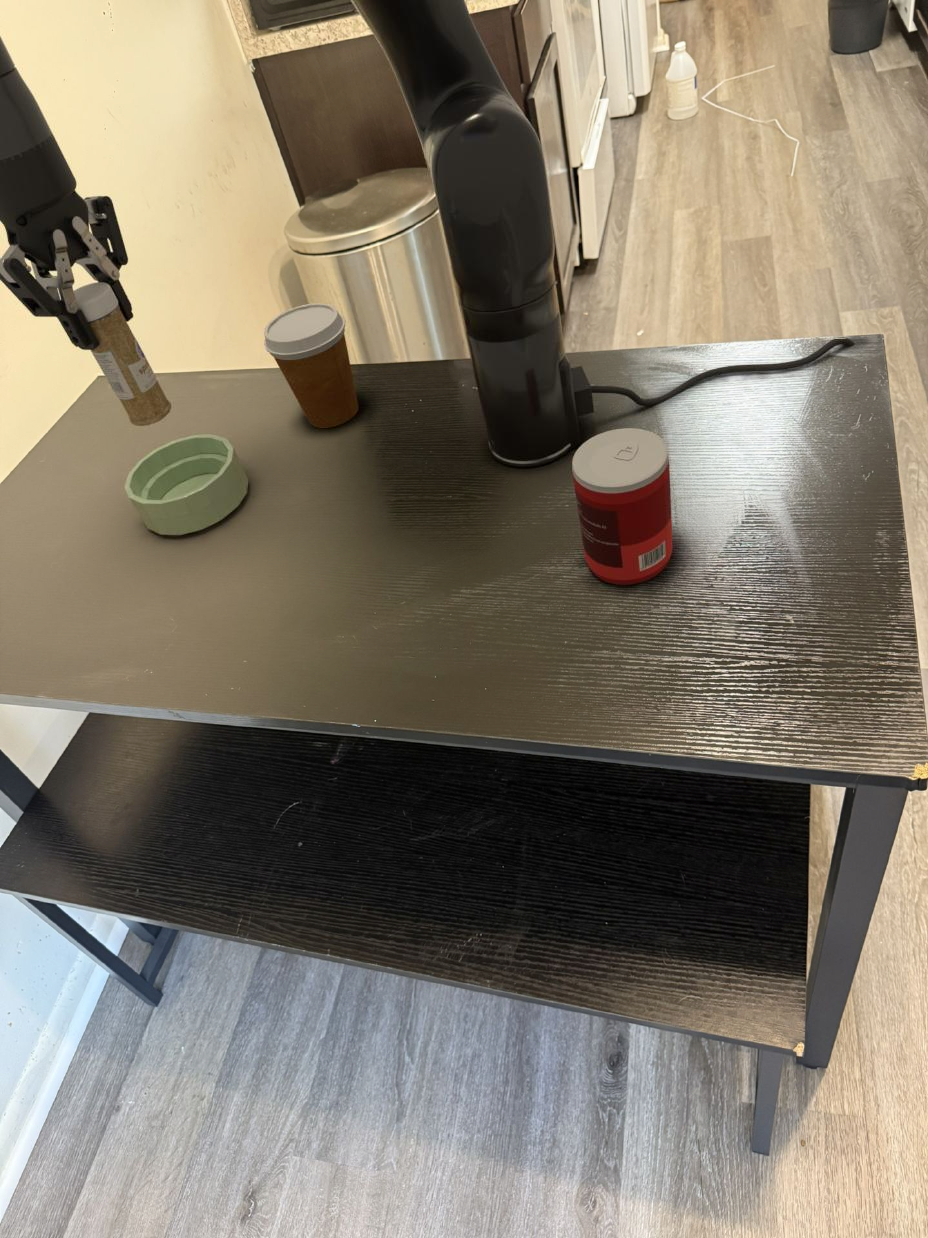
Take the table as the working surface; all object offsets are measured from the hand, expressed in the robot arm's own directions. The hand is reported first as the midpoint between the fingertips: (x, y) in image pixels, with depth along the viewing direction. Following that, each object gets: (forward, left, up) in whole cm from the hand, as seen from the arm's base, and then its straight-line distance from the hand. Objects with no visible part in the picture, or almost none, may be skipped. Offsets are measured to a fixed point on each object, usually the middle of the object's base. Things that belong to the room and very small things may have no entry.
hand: (107, 332), depth 83 cm
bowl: (0, 0, -21) cm, 21 cm away
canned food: (-43, +25, -21) cm, 54 cm away
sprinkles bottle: (0, 0, -10) cm, 10 cm away
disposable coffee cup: (-16, -12, -21) cm, 29 cm away
